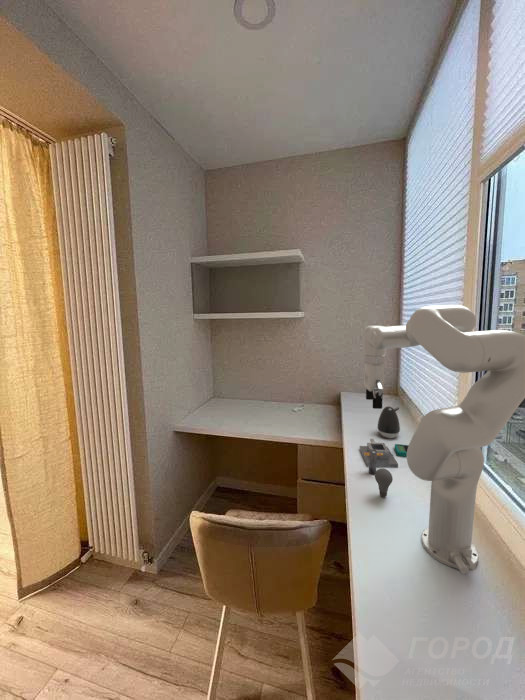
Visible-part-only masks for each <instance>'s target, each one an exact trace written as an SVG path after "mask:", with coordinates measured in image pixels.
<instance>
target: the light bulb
mask: <svg viewBox="0 0 525 700" xmlns="http://www.w3.org/2000/svg"><path fill="white" fill-rule="evenodd" d="M374 479H375V481H376V483H377V485H378V490H379V496H380V497H382V498H386V497H387V496H388V491H389V487H390V486H391V484H392V483H393V475H392V473H391V472H390V471H389V470H388V469H387V468H385V467H380V468H378V469H376V473H375V475H374Z"/></svg>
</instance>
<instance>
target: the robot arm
mask: <svg viewBox="0 0 525 700" xmlns="http://www.w3.org/2000/svg"><path fill="white" fill-rule="evenodd" d="M476 324H477V319H476V315H475V313H474V312H473V310H471V309H470V308H468V307H466V306H464V305H459V304H445V305H427V306H422V307H420V308H418V309H416V310H415V311H414V312H413V313H412V314H411V315H410V318H409V319H408V321H407V322H406V325H405V324H404V325H389V326H384V325H378V324H377V325H367V326H366V327H365V328H364V329H363V330H364V331H363V364H364V373H363V385H364V387H365V389H366V390H365V400H370V401H371V400H372V408H373V410H374V409H375V410H376V409H378V410H380V409H382V410H383V394H384V393H383V391H384V387H385V385H384V383H385V380H384V379H385V374H384V365H386V363H387V362H386V360H387V359H386V358H387V350H390V349H400V348H401V349H402V348H411V347H417V346H421V347H422V348H423V349H424V350H425V351H426V352H428V353H429V354H430V355H431V356H432V357H433V358H434V359H435V360H436V361H437V362H438V363H439V364H441V365H442V366H443V367H445V368H446V369H447V370H450V371H451V372H455V373H461V374H466V373H467V374H468V373H477V372H478V373H479V372H486V373H485V374H484V375H482V376H481V377H480V378H479V379H478V380H477V381H475V382H474V383H473V385H471V387H470V388H469V390H468V391H467V394H466V395H465V397H464V398H463V400H462V401H461V402H460V403H459V404H458V405H455V406H451V407H443V408H436V409H433V410H431V411H428V412H427V413H426V414H425V415H424V416H423V417H422V418H421V419H420V421H419V423H418V425H417V427H416V430H414V433H413V435H412V437H411V440H410V441H409V444H408V445H409V446H408V449H407V457H406V462H407V465H408V468H409V471H410V472H411V473H412V474H414V475H415V477H417V478H418V479H419V480H422V481H425V482H431V485H430V495H429V497H430V498H429V499H430V500H429V515H428V516H429V517H428V527H426V528H425V529H423V531H421V532H422V533H421V542H422V545H423V547H424V549H425V551H427V553H428V554H430V556H431V557H433V558H434V559H435V560H437V561H438V562H440V563H442V564H443V565H445V566H448V567H451V568H454V569H458V570H459V572H460V573H461V574H462V575H467V574H468V573H469V572H470V570H475V569H476V568H477V564H478V562H479V553H478V550H477V548H476V547H475V545H474V544H473V543H472V541H473V530H474V519H475V518H474V517H475V508H476V507H475V505H476V498H477V488H478V484H479V481H480V478H481V476H482V472H483V470H484V464H485V460H484V459H485V457H484V453H483V451H482V449H481V448H483V447H487V446H488V445H490V444H492V443H493V442H494V441H495V439H496V438H497V437H498V435H499V434H500V432H501V431H502V430H503V429H504V427H505V426H506V425H507V423H508V421H509V420H510V419H511V418H512V417H513V415H514V413H515V411H516V410H517V409H518V408H519V406H520V405H521V403H522V402H523V401H524V400H525V334H522V333H519V332H517V331H514V330H513V331H512V330H507V329H492V330H477V331H473V330H474V328H475V327H476ZM469 569H470V570H469Z"/></svg>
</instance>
